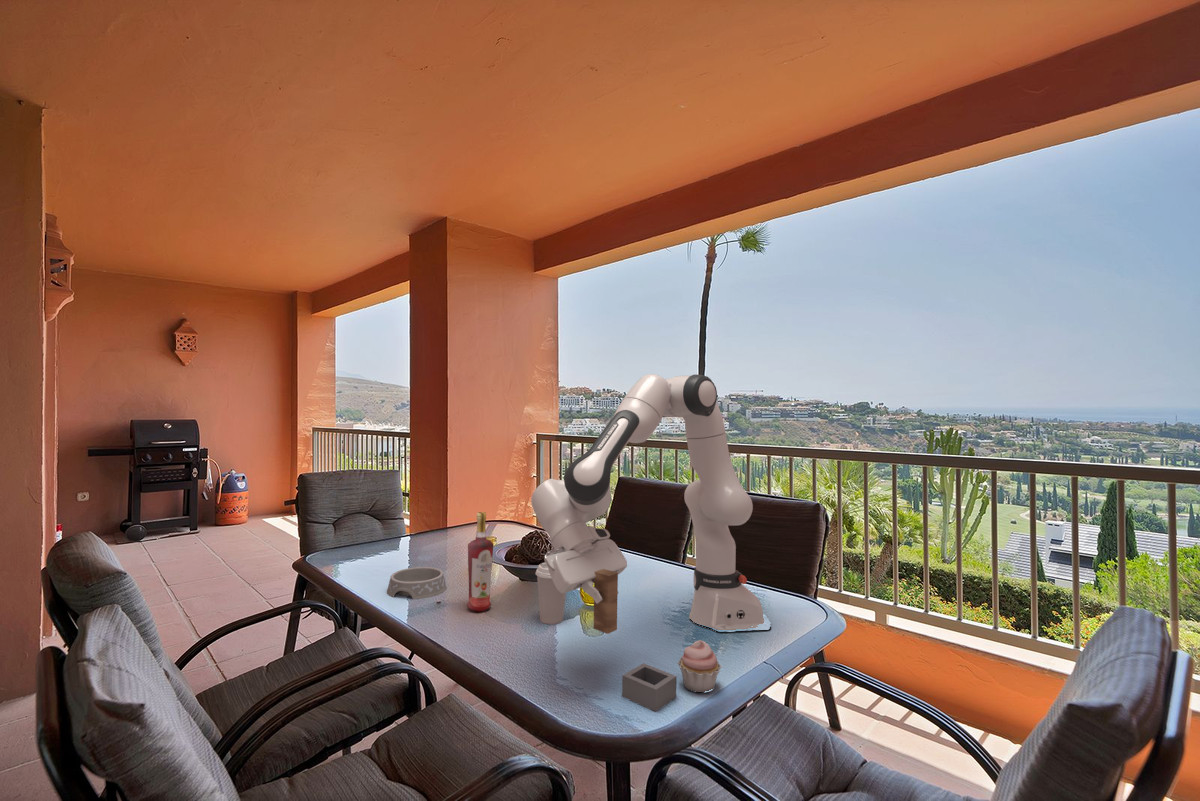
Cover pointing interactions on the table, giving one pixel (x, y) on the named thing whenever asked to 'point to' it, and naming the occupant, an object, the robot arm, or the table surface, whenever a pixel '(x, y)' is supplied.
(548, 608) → the coffee cup
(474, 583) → the liquor
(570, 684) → the table surface
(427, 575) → the dog bowl
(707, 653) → the cupcake
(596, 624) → the brown wooden block
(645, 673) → the end cap
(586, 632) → the table surface
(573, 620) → the table surface
